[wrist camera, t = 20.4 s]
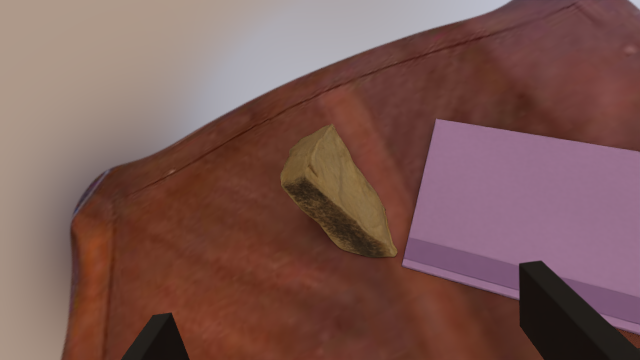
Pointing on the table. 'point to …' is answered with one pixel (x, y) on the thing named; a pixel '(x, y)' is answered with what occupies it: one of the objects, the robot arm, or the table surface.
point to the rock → (337, 194)
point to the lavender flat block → (530, 215)
